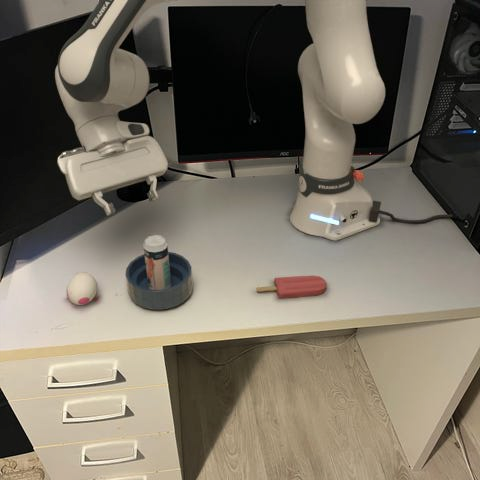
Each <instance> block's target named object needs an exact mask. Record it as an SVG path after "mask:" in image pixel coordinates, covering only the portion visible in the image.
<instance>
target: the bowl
mask: <svg viewBox="0 0 480 480" xmlns="http://www.w3.org/2000/svg"><path fill="white" fill-rule="evenodd" d="M168 255H169V265H170V276H171V285H172V287H171V288H167V289H162V290H150V289H149V285H148V278H147V271H146V263H145V256H144V253H143V254H141V255H139V256H137V257H135V258H133V259H132V261H130V262H129V264H128V266H126V268H125V281H126V286H127V291H128V296H129V297H130V299H131V300H132V301H133V302H134V303H135V304H136V305H138V306H140V307H142V308H144V309H148V310H168V309H171V308H174V307H176V306H179V305H181V304H183V303H184V302H185V301H186V300H187V299H188V298H190V296H191V294H192V292H193V271H192V270H193V269H192V265H191V263H190V261H189V260H188V258H187V259H186V257H184V255H181V254H179V253H177V252H172V251H168Z"/></svg>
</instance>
